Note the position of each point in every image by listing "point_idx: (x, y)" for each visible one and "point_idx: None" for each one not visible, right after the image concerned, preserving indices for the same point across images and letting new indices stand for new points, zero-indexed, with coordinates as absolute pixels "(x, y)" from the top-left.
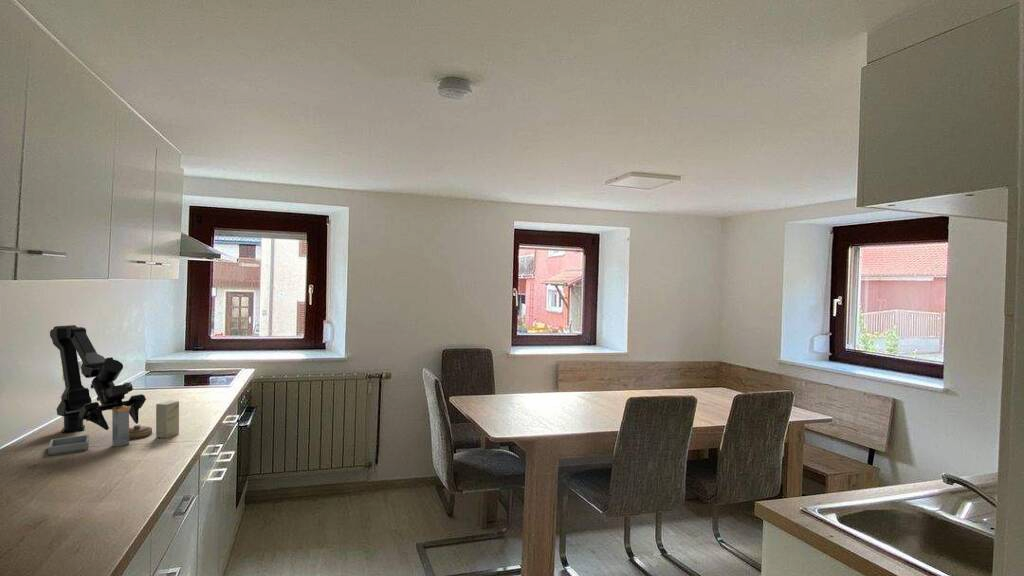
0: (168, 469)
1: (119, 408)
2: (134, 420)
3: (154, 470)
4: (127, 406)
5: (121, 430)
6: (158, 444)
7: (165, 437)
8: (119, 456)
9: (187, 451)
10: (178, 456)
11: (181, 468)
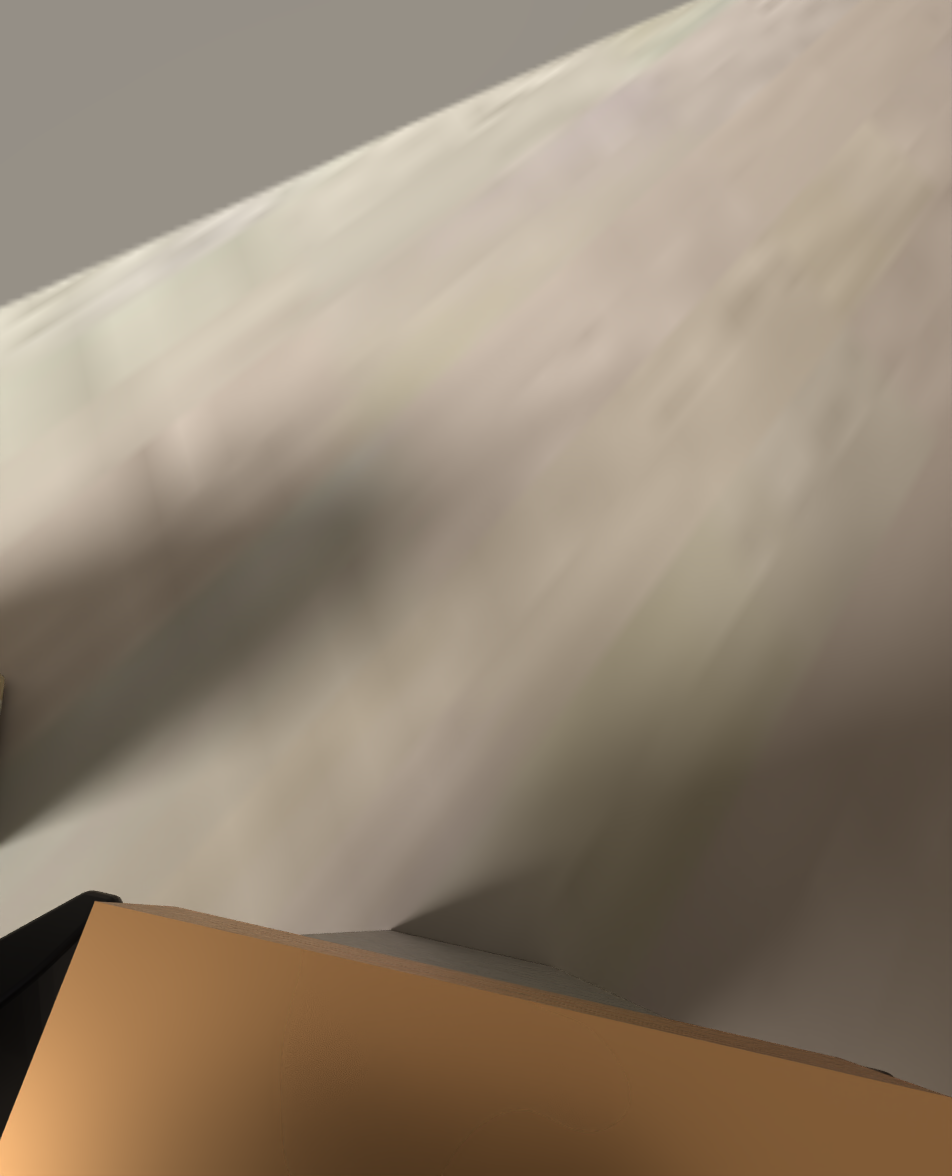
0: (747, 42)
1: (779, 1122)
2: None
3: (812, 88)
4: (57, 1162)
5: (517, 969)
6: (270, 552)
7: (3, 677)
8: (777, 570)
9: (381, 176)
10: (513, 151)
11: (689, 3)
